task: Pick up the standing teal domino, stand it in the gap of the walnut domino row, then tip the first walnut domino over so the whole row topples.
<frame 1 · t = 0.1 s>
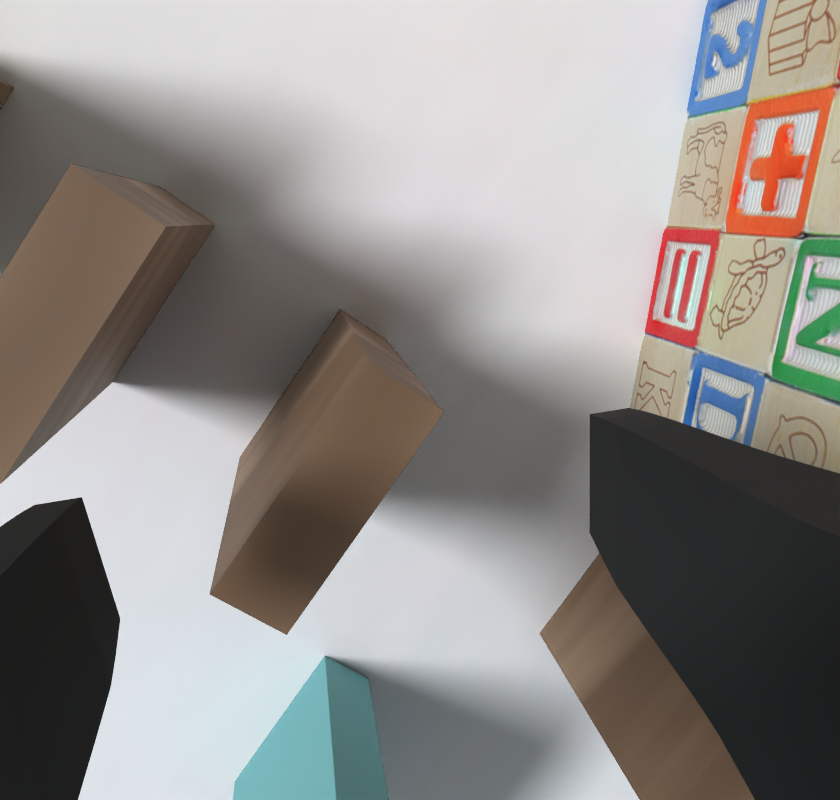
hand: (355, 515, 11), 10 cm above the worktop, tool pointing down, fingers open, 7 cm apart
walnut domino 1: (604, 583, 24), on the worktop
teal domino: (301, 730, 23), on the worktop
stack of blocks: (784, 78, 21), on the worktop
walnut domino 4: (135, 286, 19), on the worktop
walnut domino 3: (313, 399, 21), on the worktop
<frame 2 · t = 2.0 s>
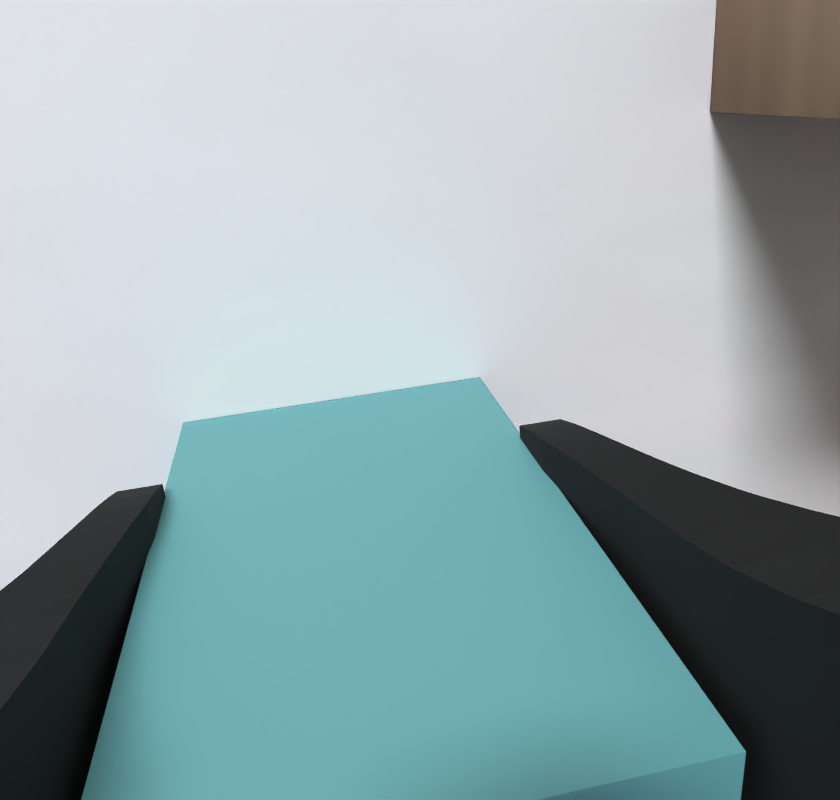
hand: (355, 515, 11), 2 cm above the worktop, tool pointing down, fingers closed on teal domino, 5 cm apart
teal domino: (341, 441, 13), on the worktop, touching gripper
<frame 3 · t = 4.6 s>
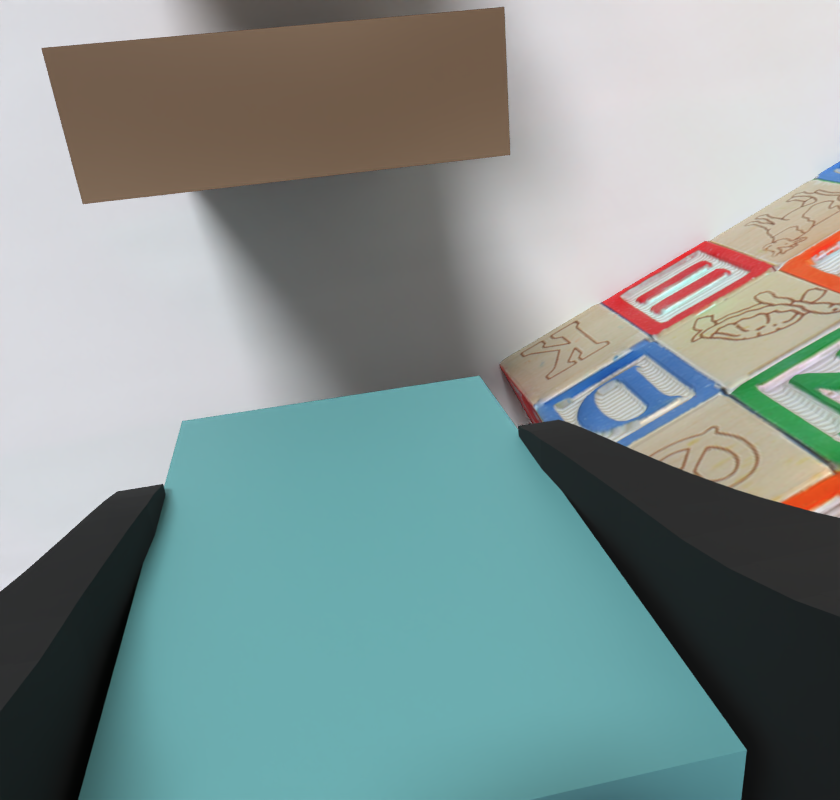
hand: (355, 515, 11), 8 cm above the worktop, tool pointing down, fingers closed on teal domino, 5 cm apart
teal domino: (340, 440, 13), point 5 cm above the worktop, touching gripper
walnut domino 3: (284, 96, 16), on the worktop
when the fingers open (3 cm above the worktop, at t = 6.1 s): teal domino stays where it is, on the worktop.
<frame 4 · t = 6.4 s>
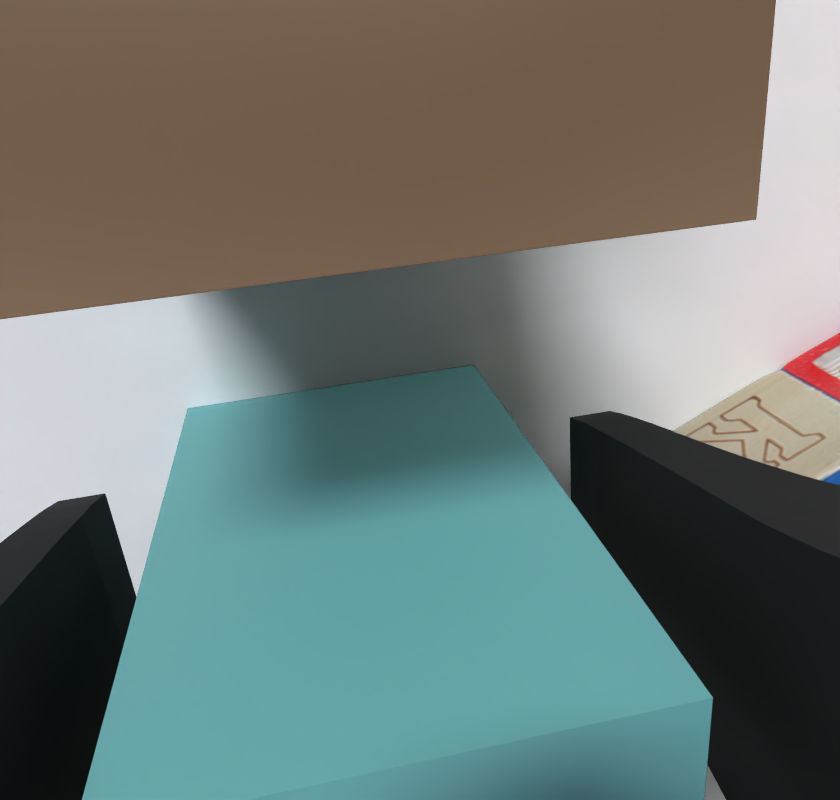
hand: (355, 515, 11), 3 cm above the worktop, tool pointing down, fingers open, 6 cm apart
teal domino: (340, 427, 13), on the worktop
walnut domino 3: (291, 98, 11), on the worktop
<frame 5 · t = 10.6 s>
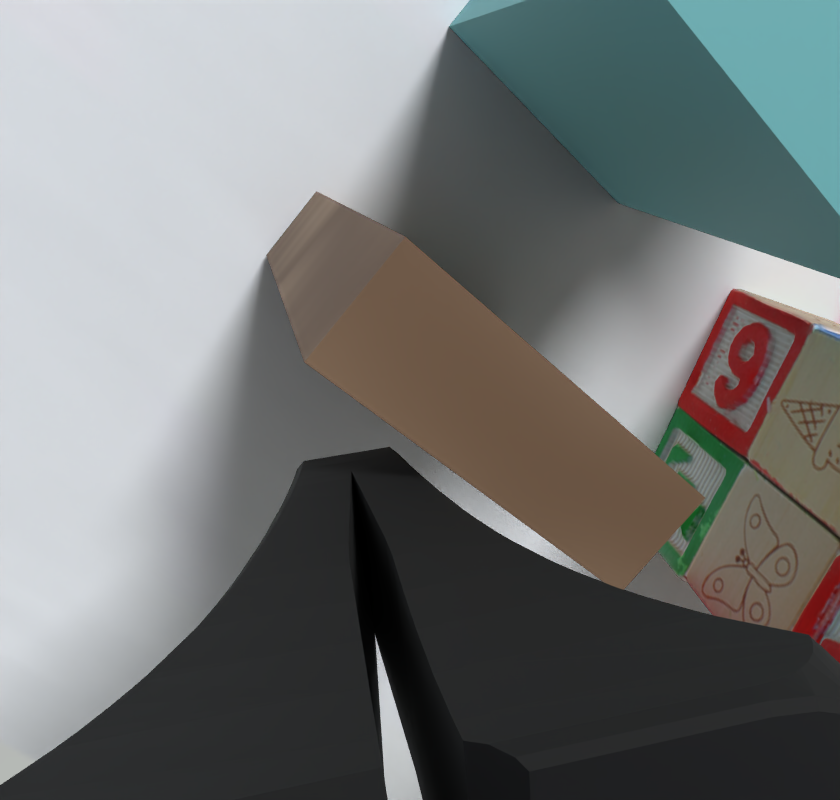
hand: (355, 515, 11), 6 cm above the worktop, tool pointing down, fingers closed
walnut domino 1: (386, 301, 16), on the worktop, tilted 5°
teal domino: (566, 88, 15), on the worktop
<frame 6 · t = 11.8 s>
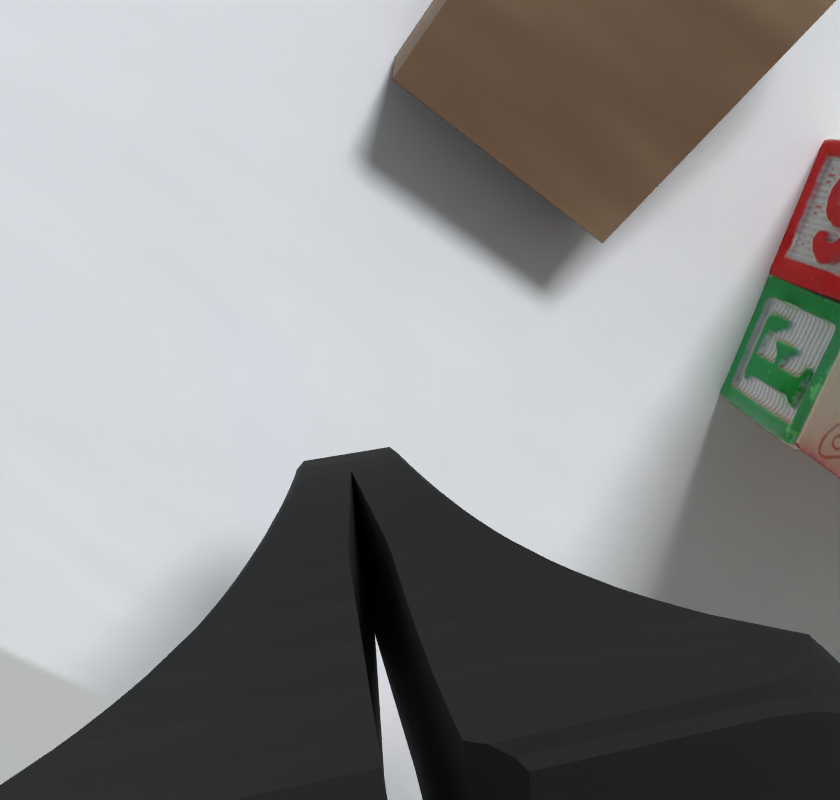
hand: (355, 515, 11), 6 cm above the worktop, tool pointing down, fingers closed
walnut domino 1: (500, 152, 14), point 1 cm above the worktop, tilted 73°, touching teal domino
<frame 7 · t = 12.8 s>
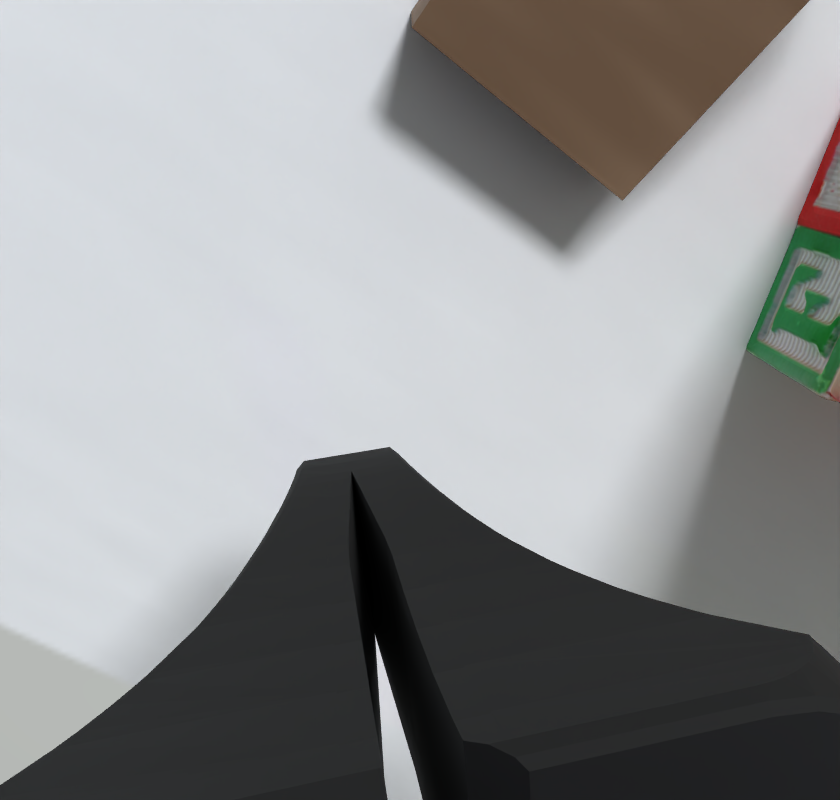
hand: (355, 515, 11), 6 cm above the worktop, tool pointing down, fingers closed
walnut domino 1: (518, 107, 14), point 1 cm above the worktop, tilted 74°, touching teal domino
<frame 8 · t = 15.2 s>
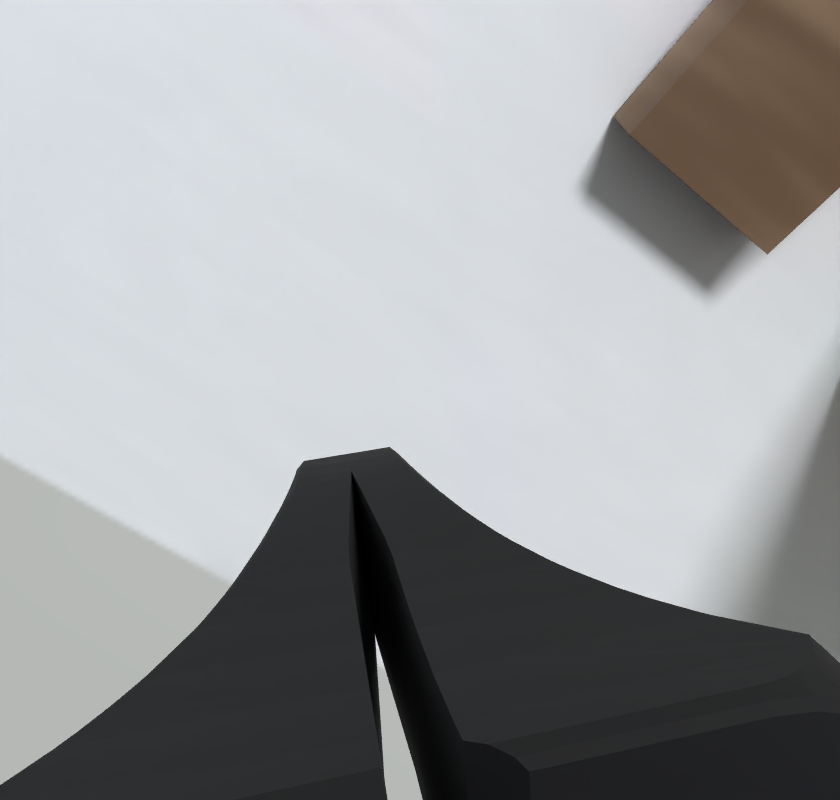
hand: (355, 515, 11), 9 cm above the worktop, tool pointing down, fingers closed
walnut domino 1: (691, 186, 19), point 1 cm above the worktop, tilted 75°, touching teal domino
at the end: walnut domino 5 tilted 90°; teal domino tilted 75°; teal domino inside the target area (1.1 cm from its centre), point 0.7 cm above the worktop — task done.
